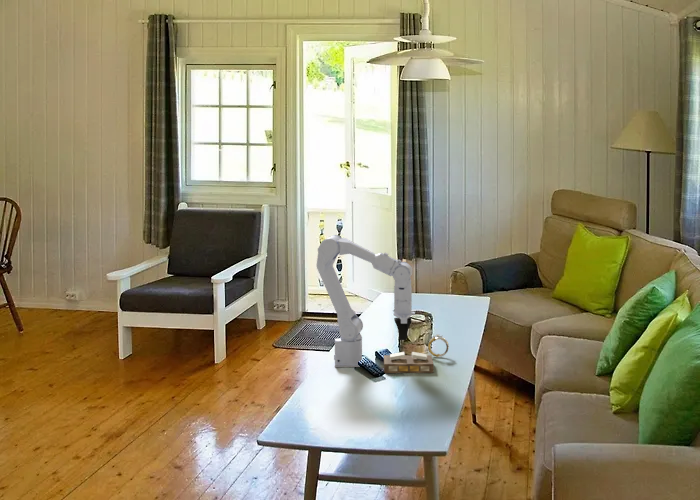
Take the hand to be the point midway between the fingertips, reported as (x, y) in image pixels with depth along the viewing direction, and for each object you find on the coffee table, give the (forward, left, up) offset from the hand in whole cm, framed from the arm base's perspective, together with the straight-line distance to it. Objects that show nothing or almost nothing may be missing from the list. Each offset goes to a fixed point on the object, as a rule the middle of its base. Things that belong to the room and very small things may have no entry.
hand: (402, 339), depth 279 cm
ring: (+13, +11, -10) cm, 20 cm away
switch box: (+2, -2, -9) cm, 10 cm away
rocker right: (+5, -2, -6) cm, 8 cm away
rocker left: (-2, -2, -6) cm, 6 cm away
